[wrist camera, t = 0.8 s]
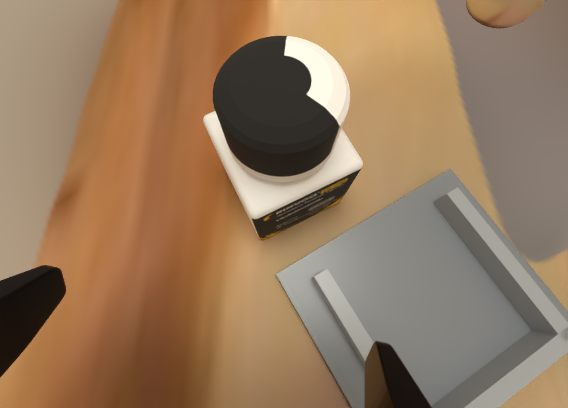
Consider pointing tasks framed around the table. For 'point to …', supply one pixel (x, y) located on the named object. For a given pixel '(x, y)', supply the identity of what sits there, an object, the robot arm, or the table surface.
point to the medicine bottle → (283, 131)
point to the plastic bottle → (502, 11)
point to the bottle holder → (430, 300)
